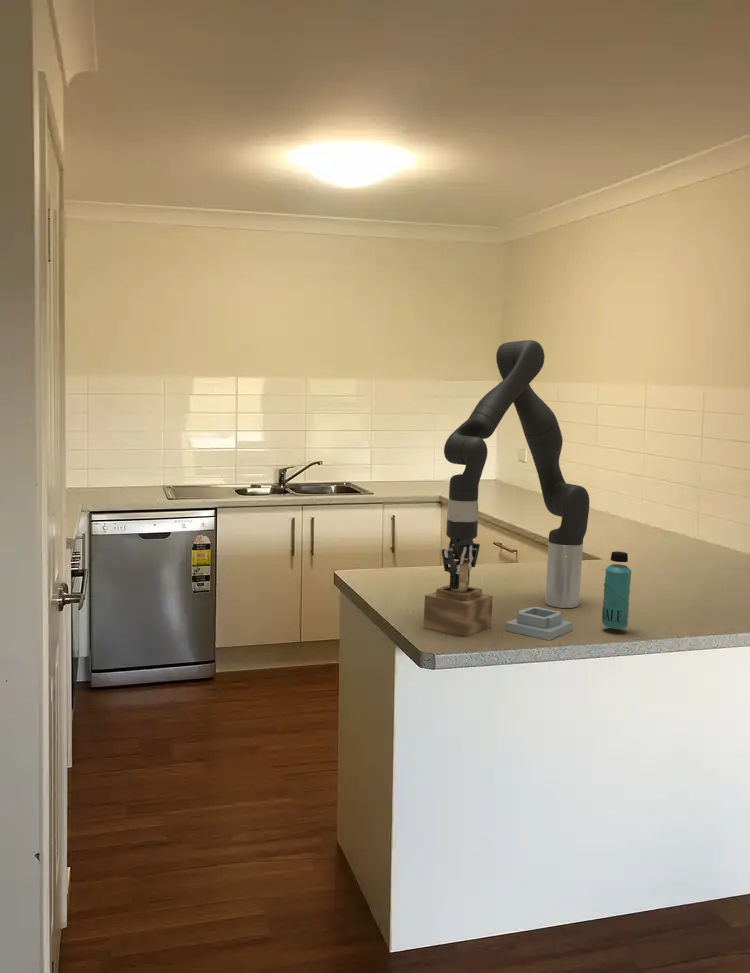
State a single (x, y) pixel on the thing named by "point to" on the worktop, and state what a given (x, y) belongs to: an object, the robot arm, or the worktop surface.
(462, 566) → the birch peg
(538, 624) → the slate dock
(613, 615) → the beverage bottle
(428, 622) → the walnut dock
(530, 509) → the worktop surface
